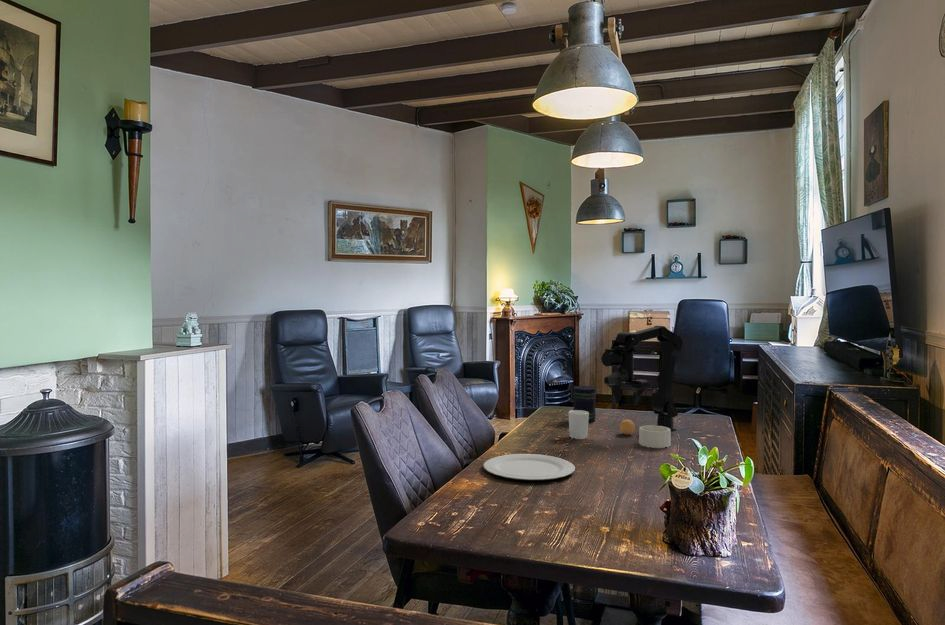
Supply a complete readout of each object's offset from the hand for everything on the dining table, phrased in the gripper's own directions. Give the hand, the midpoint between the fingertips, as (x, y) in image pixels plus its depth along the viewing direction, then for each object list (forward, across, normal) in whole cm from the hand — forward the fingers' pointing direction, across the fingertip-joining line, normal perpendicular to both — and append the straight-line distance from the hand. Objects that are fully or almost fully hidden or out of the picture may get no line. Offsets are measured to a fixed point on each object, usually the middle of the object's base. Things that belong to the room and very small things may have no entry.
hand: (626, 403), depth 249 cm
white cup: (+12, -8, -19) cm, 24 cm away
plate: (+11, +16, -64) cm, 67 cm away
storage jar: (+13, -29, +6) cm, 32 cm away
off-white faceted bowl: (+13, +16, -3) cm, 21 cm away
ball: (+10, -1, +1) cm, 10 cm away
